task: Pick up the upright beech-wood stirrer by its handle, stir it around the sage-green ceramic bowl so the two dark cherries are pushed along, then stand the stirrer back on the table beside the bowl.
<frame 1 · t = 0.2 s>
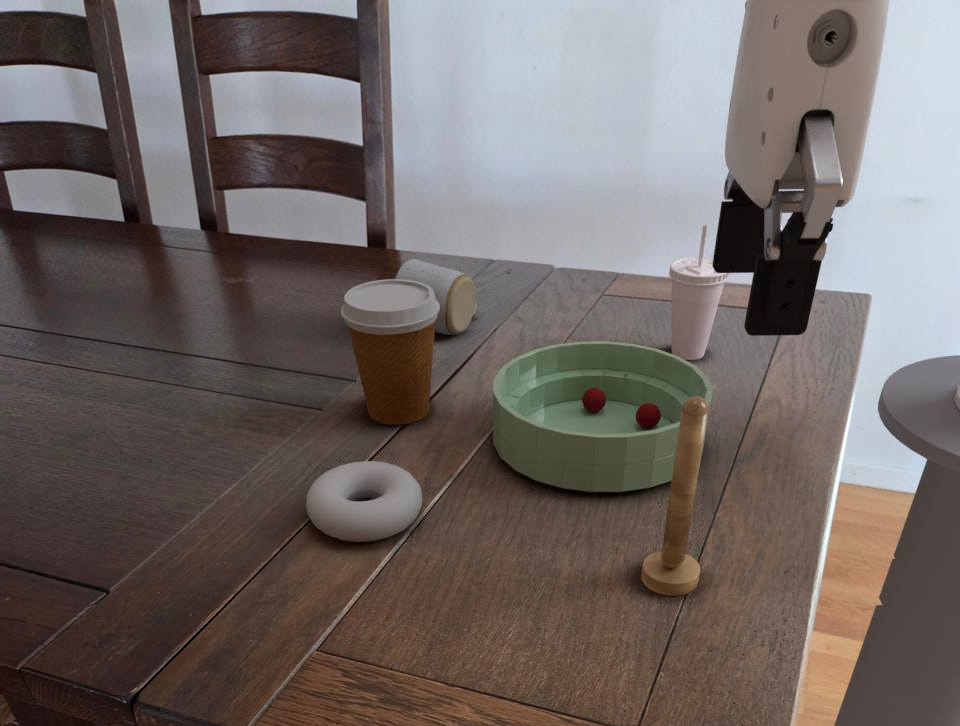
hand: (754, 300, 51), 23 cm above the table, tool pointing down, fingers open, 9 cm apart
bowl: (597, 442, 86), on the table
stirrer: (669, 578, 70), on the table
cherry a: (594, 400, 89), point 2 cm above the table, touching bowl
smoothie: (687, 354, 102), on the table
disposable coffee cup: (399, 412, 92), on the table
ceramic mug: (440, 327, 110), on the table
cherry b: (648, 415, 87), point 2 cm above the table, touching bowl
donut: (366, 518, 77), on the table
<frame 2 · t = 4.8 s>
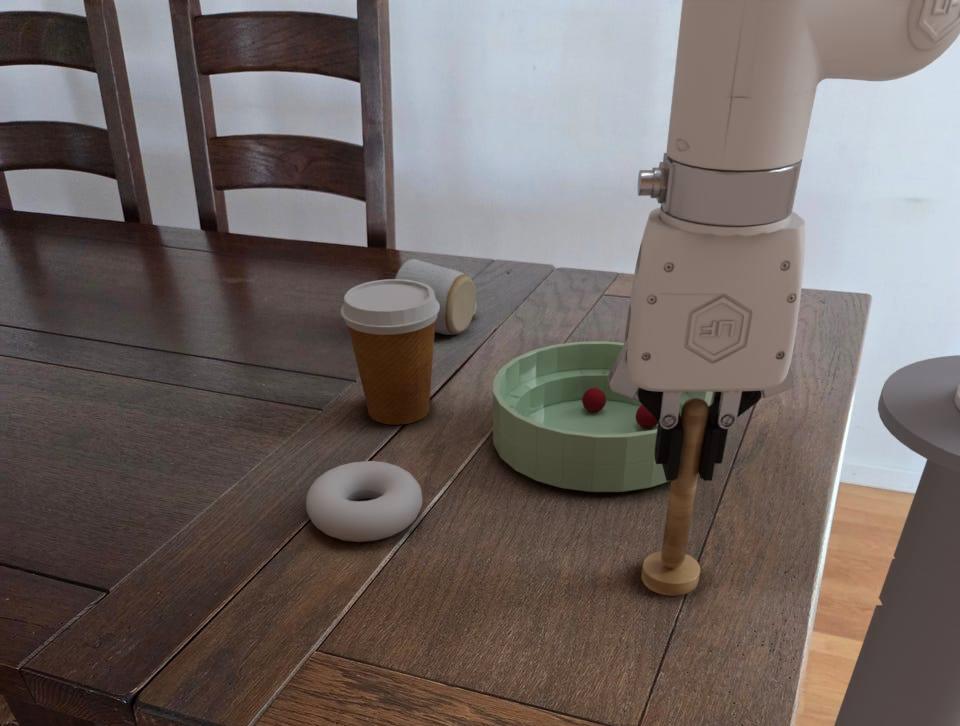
hand: (686, 469, 63), 10 cm above the table, tool pointing down, fingers closed on stirrer
stirrer: (669, 578, 70), on the table, touching gripper
everything else where it was.
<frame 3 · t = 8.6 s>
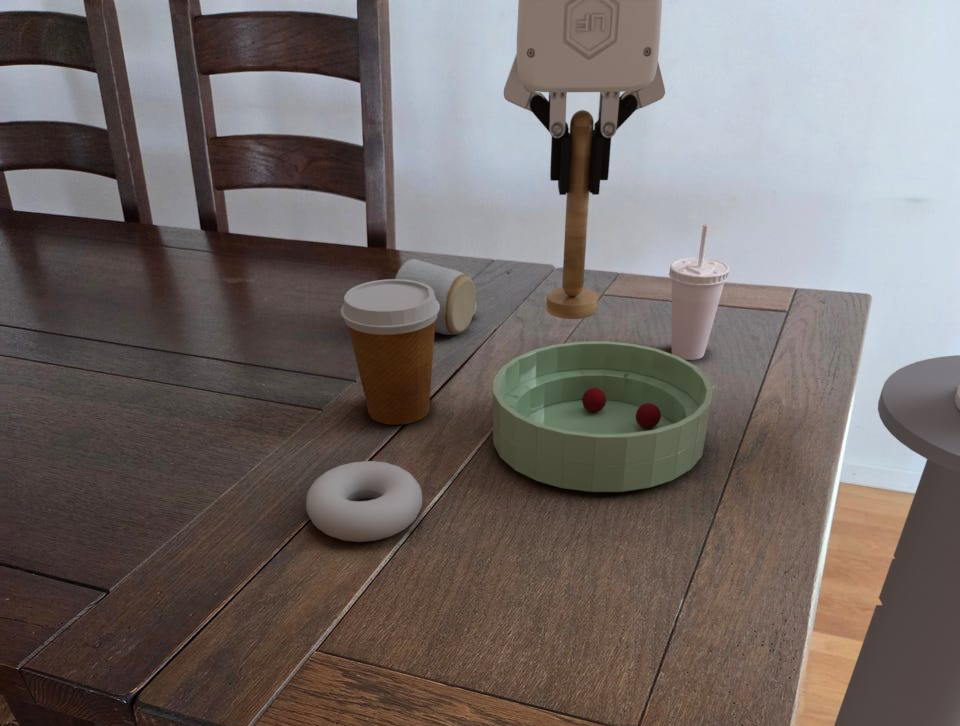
hand: (578, 188, 71), 23 cm above the table, tool pointing down, fingers closed on stirrer
stirrer: (571, 309, 77), point 13 cm above the table, touching gripper
everything else where it was.
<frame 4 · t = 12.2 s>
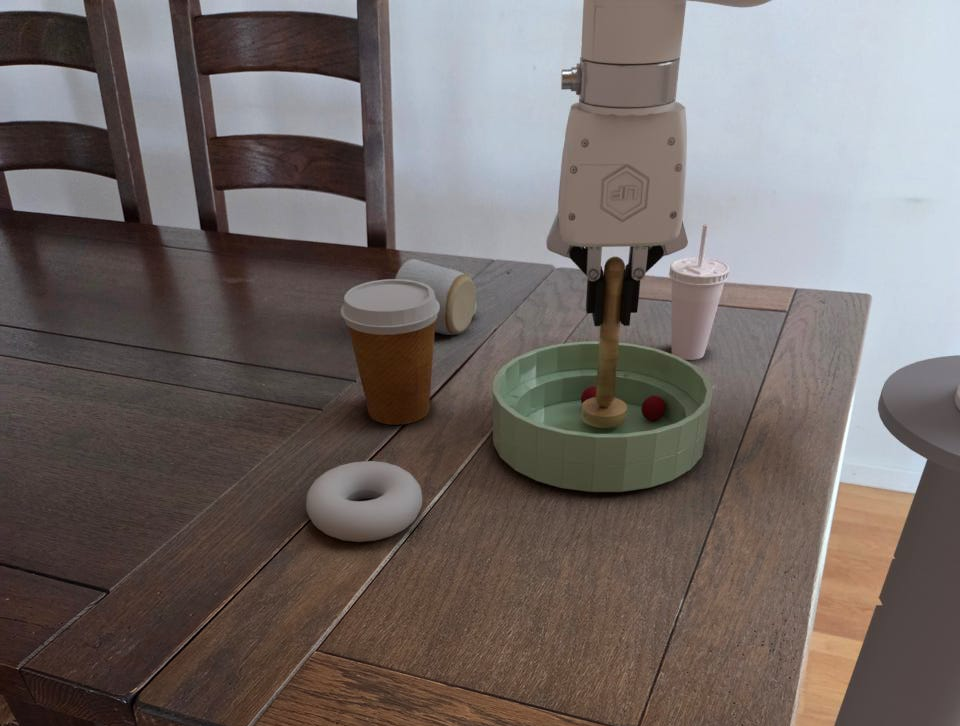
hand: (610, 319, 81), 11 cm above the table, tool pointing down, fingers closed on stirrer
stirrer: (603, 417, 87), point 1 cm above the table, touching gripper
cherry a: (592, 398, 90), point 2 cm above the table, tilted 14°, touching bowl
cherry b: (653, 408, 88), point 2 cm above the table, tilted 82°, touching bowl
everything else where it was.
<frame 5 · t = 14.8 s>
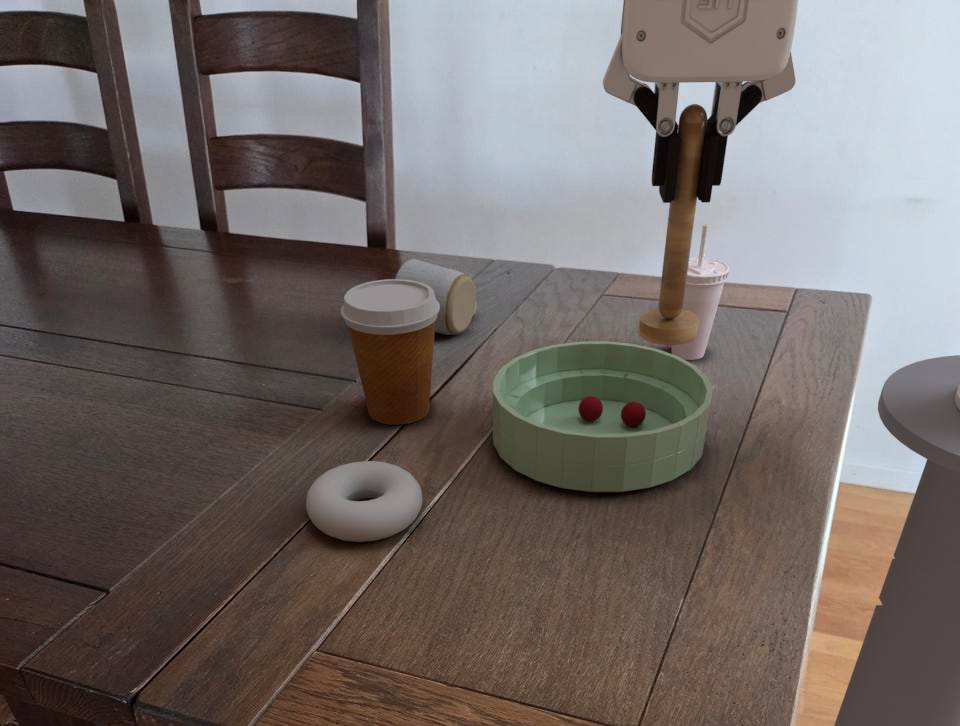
hand: (684, 195, 61), 25 cm above the table, tool pointing down, fingers closed on stirrer
stirrer: (667, 333, 68), point 15 cm above the table, touching gripper
cherry a: (590, 408, 88), point 2 cm above the table, tilted 89°, touching bowl
cherry b: (633, 414, 87), point 2 cm above the table, tilted 48°, touching bowl
everything else where it was.
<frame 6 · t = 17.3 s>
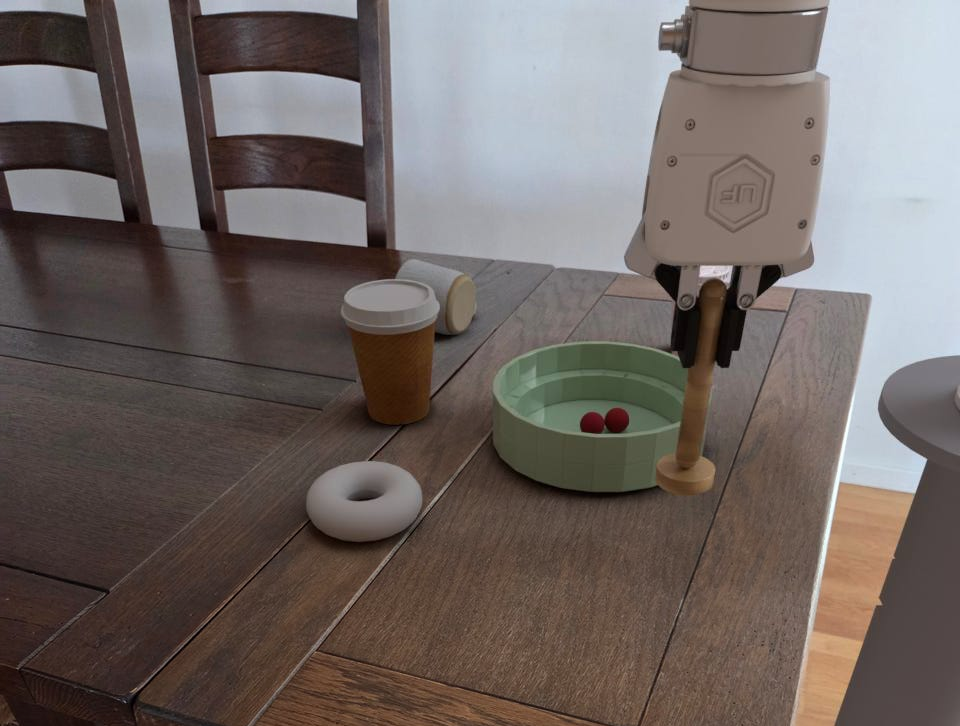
hand: (702, 358, 62), 16 cm above the table, tool pointing down, fingers closed on stirrer
stirrer: (683, 480, 68), point 7 cm above the table, touching gripper
cherry a: (592, 424, 85), point 2 cm above the table, tilted 113°, touching bowl
cherry b: (616, 420, 86), point 2 cm above the table, tilted 122°, touching bowl
everything else where it was.
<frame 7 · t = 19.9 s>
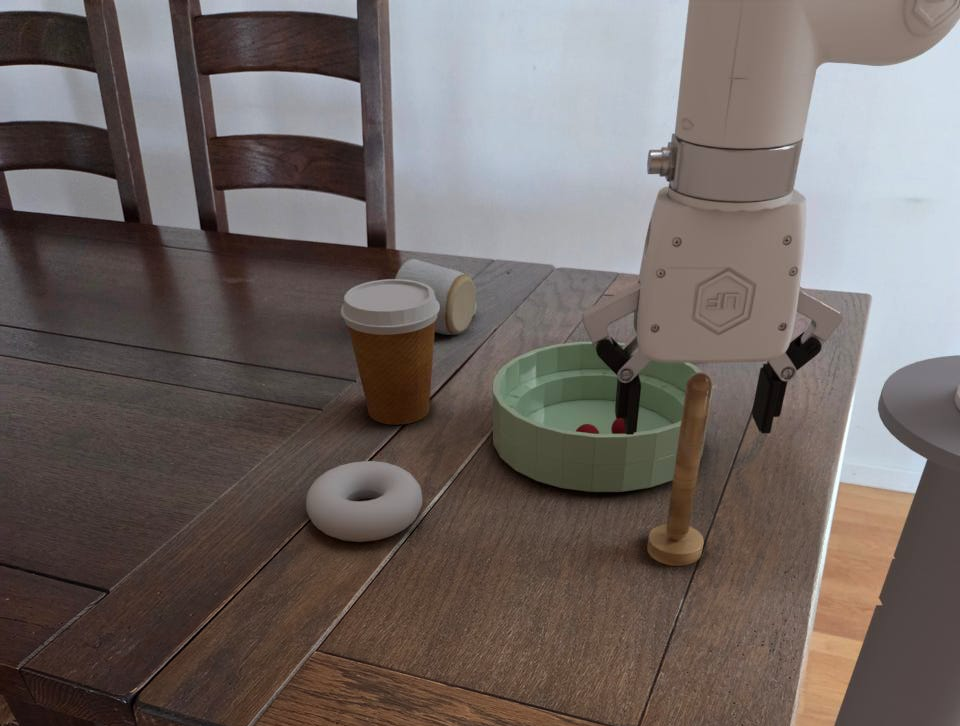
hand: (694, 425, 65), 11 cm above the table, tool pointing down, fingers open, 9 cm apart
stirrer: (674, 550, 73), on the table
cherry a: (586, 436, 84), point 2 cm above the table, tilted 30°, touching bowl
cherry b: (624, 428, 85), point 2 cm above the table, tilted 62°, touching bowl
everything else where it was.
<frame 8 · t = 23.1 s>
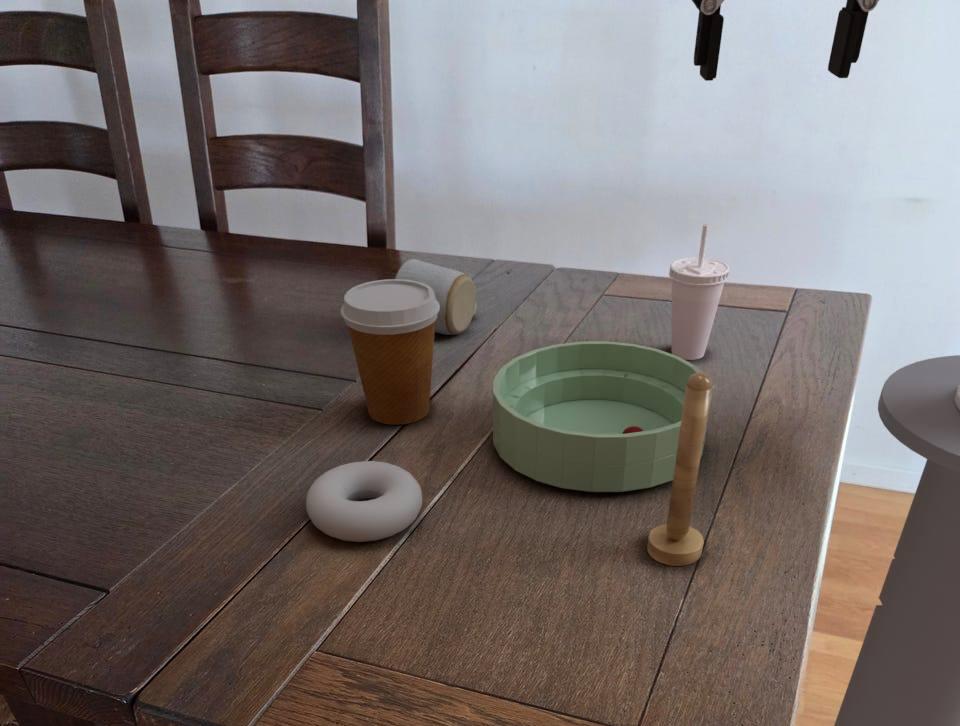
hand: (772, 76, 66), 30 cm above the table, tool pointing down, fingers open, 9 cm apart
cherry a: (580, 452, 81), point 2 cm above the table, tilted 142°, touching bowl
cherry b: (633, 439, 83), point 2 cm above the table, tilted 65°, touching bowl
everything else where it was.
at the end: cherry a moved 11.1 cm from its start; stirrer inside the target area (0.1 cm from its centre), on the table; stirrer tilted 0° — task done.
